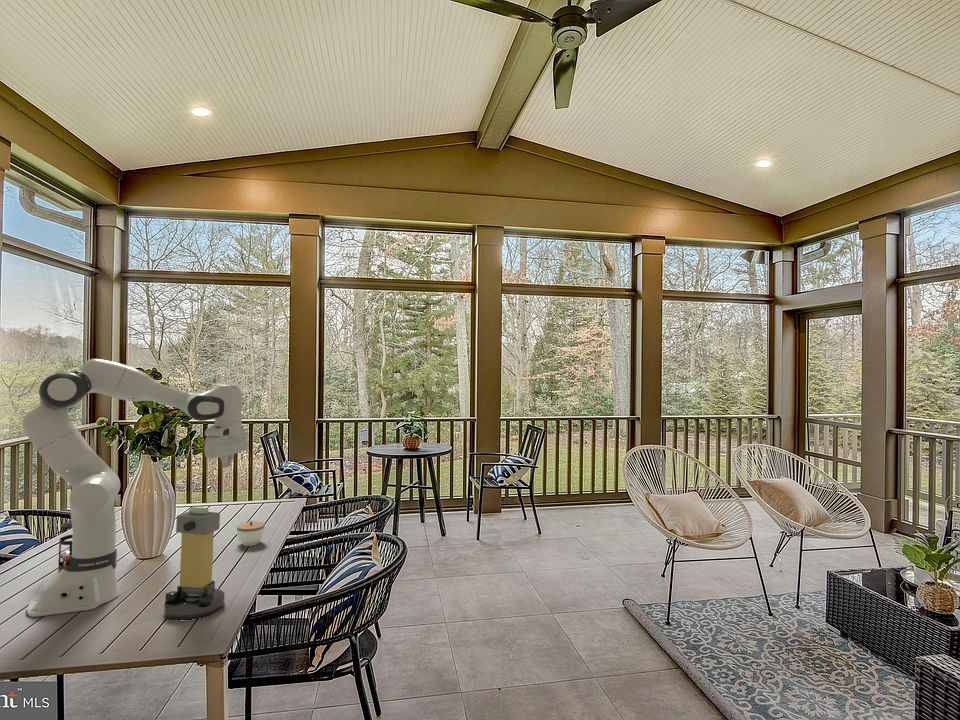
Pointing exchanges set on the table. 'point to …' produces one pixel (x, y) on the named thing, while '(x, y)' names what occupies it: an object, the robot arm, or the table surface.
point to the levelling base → (193, 603)
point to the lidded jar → (250, 533)
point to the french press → (65, 543)
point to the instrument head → (196, 548)
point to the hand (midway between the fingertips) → (226, 467)
